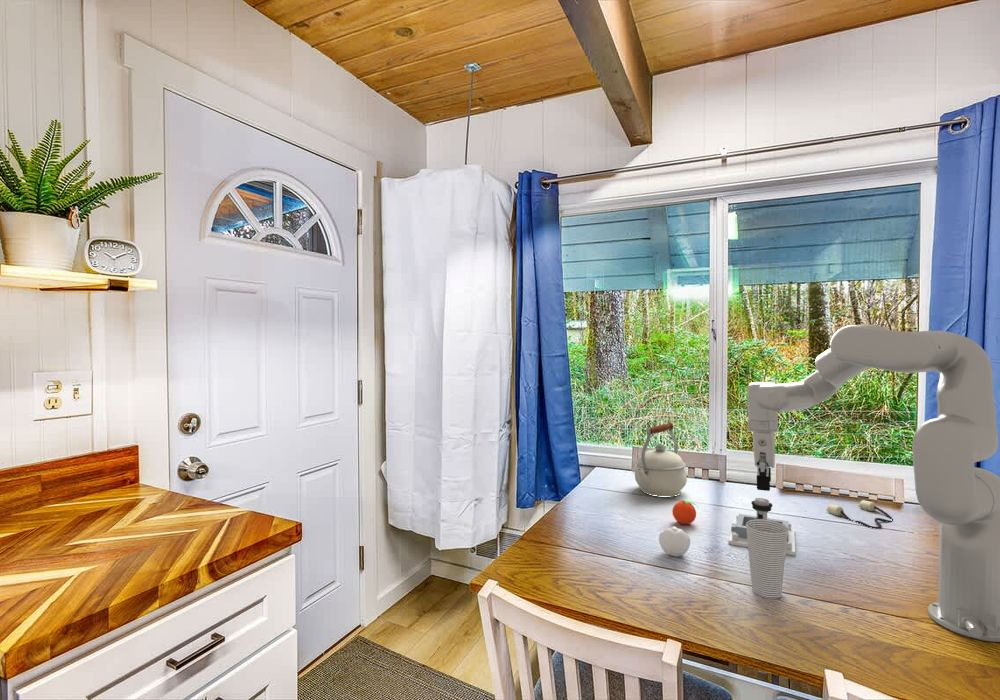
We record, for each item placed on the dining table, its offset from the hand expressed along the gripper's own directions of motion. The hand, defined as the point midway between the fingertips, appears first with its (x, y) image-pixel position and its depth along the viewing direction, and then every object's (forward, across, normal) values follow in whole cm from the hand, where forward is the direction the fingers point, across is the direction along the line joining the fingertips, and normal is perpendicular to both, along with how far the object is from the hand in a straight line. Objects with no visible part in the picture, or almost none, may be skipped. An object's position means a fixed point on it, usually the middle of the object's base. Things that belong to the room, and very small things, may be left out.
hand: (764, 485), depth 143 cm
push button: (+14, 0, 0) cm, 15 cm away
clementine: (+15, +2, +22) cm, 27 cm away
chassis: (+15, +1, +1) cm, 15 cm away
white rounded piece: (+16, -22, +21) cm, 34 cm away
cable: (+16, +32, -27) cm, 45 cm away
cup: (+16, -32, -1) cm, 36 cm away
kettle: (+14, +28, +36) cm, 47 cm away
